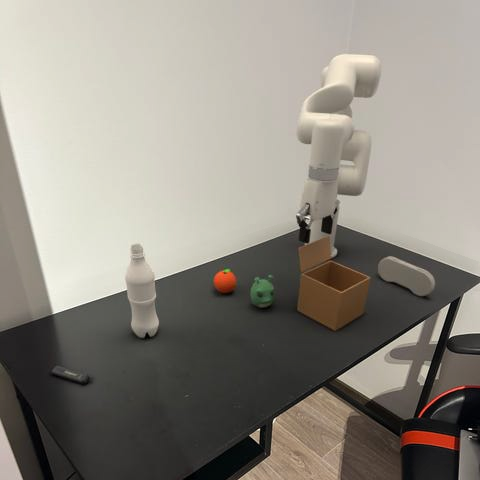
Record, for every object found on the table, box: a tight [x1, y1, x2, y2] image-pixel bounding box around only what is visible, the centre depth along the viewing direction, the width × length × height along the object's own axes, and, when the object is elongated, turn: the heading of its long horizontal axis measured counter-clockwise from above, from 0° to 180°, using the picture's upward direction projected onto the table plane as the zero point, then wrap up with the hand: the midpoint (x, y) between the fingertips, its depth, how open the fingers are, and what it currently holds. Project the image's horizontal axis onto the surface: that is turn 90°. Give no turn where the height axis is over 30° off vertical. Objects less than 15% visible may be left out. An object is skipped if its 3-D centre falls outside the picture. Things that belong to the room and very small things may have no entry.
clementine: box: [213, 268, 237, 294], centre depth 138 cm, size 8×7×7 cm
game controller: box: [377, 255, 436, 297], centre depth 143 cm, size 20×2×8 cm, turn 39°
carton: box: [296, 260, 372, 332], centre depth 128 cm, size 14×13×12 cm
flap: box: [297, 236, 332, 273], centre depth 127 cm, size 7×13×1 cm
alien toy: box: [250, 274, 275, 309], centre depth 130 cm, size 7×8×10 cm
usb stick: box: [51, 365, 91, 385], centre depth 104 cm, size 10×3×2 cm, turn 68°
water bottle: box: [124, 243, 160, 339], centre depth 114 cm, size 7×7×25 cm
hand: (315, 237), depth 122 cm, fingers open, 9 cm apart
